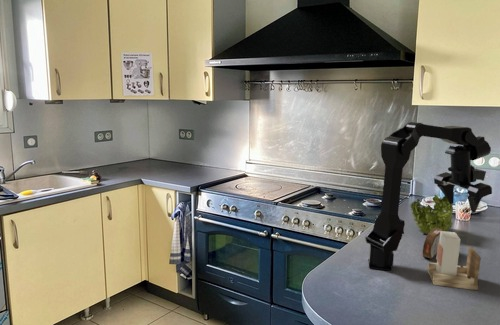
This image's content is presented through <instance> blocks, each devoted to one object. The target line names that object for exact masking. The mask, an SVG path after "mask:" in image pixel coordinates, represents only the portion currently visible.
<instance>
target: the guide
mask: <svg viewBox="0 0 500 325" xmlns="http://www.w3.org/2000/svg"><path fill="white" fill-rule="evenodd" d="M481 259H482V257H481V256H480V255H479V253H478V252H477V251H476V250H475V249H474V247H471V246H469V247H468V251H467V258H466V265H463V264H460V265H457V273H456V276H455V275H447V274H438V272H437V270H436V267H437V262H431V261H430V262H428V263H427V264H428V266H427V269H426V270H427V273H428V275H429V276H430V280H431V282H432V284H433V285H434V286H442V287H450V288H458V289H465V290H475V291H478V290H479V285H478V282H479V275H480V273H479V272H480V267H481Z"/></svg>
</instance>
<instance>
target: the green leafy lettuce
mask: <svg viewBox="0 0 500 325" xmlns="http://www.w3.org/2000/svg"><path fill="white" fill-rule="evenodd" d="M443 195H444V194H443ZM432 200H433V202H434V204H433V206H431V205H430V204H425V205H422V204H421V203H420V199H419V198H418V199H416V200H414V201H412V202H411V204H410V205H409V207H410V210H411V211H412V212H411V214H412V215H413V217H414V219H413V221H416V222H415V224H416V225H417V227H418V228H419V232H421V233H422V234H426V235H428V233H429V232H430V231H432V230H433V229H434V228H438V229H442V230H444V231H446V232H449V230H450V229H451V228H452V226H453V221H452V220H453V217H454V215H453V213H454V207H453V206H454V205H453V204H450V203H449V202H448V200H447V198H446V197H445V195H444V196H443V197H439V196H438V195H436V194H434V197H432Z"/></svg>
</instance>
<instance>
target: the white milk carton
mask: <svg viewBox="0 0 500 325" xmlns="http://www.w3.org/2000/svg"><path fill="white" fill-rule="evenodd" d="M461 240H462V239H461V238H460V236H459V235H458V234H457V232H454V231H447V232H446V231H440V240H439V243H438V248H437V254H436V258H435V259H436V263H437V267H436V270H437V272H438V274H447V275H455V276H456V273H457V265H458V264H459V254H460V246H461ZM458 266H459V265H458Z"/></svg>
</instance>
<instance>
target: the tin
mask: <svg viewBox="0 0 500 325" xmlns="http://www.w3.org/2000/svg"><path fill="white" fill-rule="evenodd" d="M440 231H444V230H442V229H438V228H434V229H433V230H432V231H430V232H429V233H428V234H426V236H425V239H424V242H423V246H422V257H423V258H427V259H430V260H431V259H433V258H434V257H435V256H437V248H438V243H439V240H440Z"/></svg>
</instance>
